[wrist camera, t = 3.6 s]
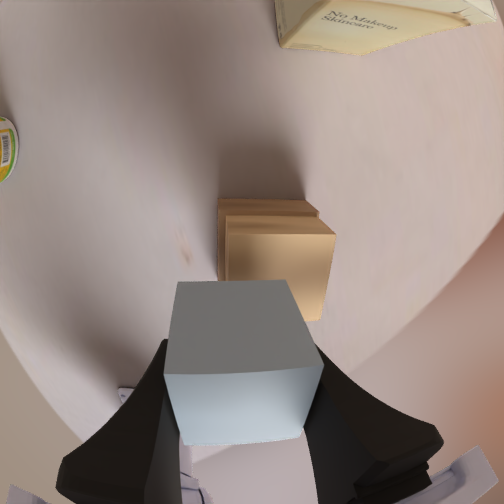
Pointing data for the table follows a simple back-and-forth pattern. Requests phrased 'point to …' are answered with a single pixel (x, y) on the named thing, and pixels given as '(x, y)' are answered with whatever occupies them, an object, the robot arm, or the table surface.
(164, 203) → the table surface
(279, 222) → the tower mid
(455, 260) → the table surface
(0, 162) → the supplement bottle
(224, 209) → the tower base
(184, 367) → the blue block
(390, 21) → the skincare box
